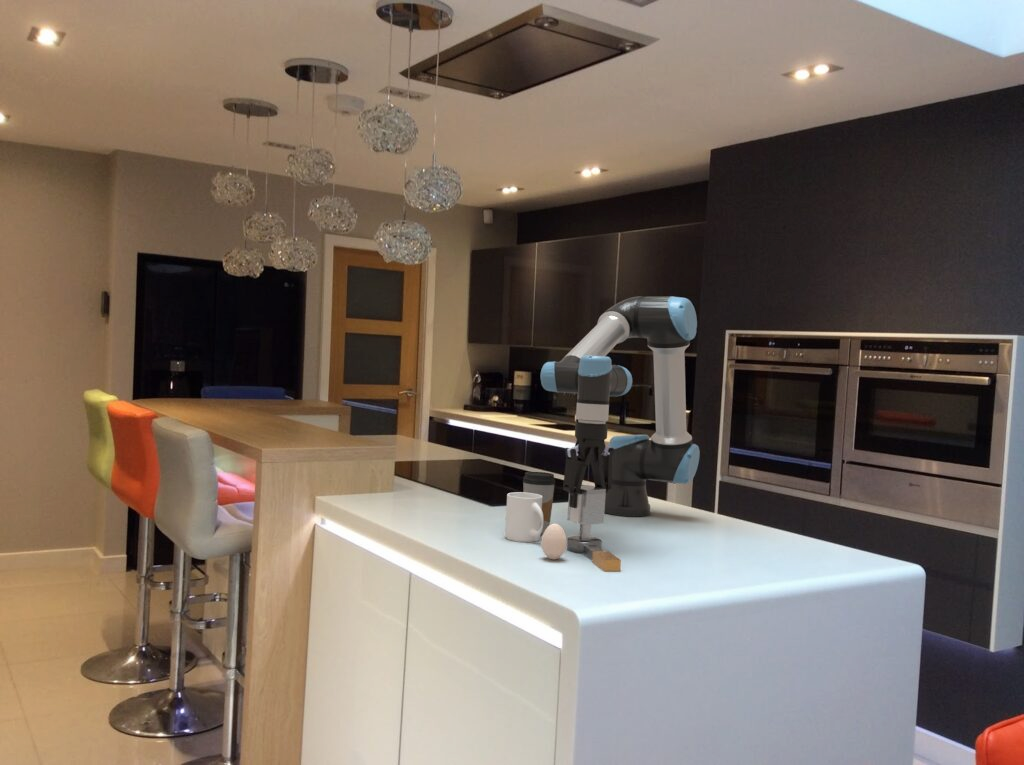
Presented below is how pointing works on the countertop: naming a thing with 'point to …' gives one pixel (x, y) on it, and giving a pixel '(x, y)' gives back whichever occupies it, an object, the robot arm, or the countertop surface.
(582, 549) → the ratchet
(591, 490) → the grey rectangular block
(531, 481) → the coffee cup
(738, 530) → the countertop surface
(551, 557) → the egg
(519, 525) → the mug
